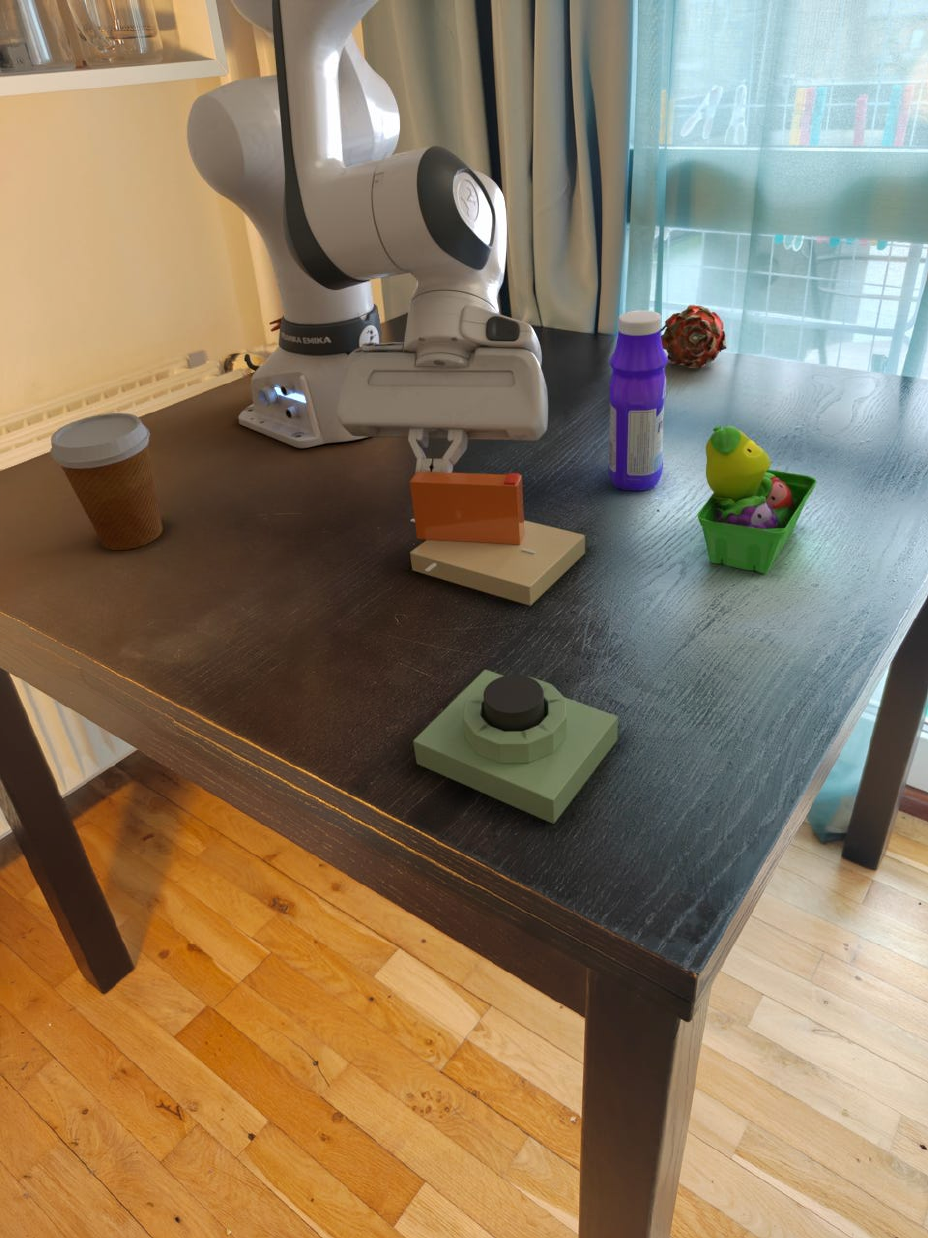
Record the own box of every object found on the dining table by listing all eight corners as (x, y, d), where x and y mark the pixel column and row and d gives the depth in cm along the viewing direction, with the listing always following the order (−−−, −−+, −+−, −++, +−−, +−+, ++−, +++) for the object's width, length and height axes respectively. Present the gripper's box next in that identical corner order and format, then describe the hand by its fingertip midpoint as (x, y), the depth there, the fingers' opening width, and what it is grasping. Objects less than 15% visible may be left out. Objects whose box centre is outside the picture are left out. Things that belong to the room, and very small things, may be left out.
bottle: (661, 495, 90) (670, 325, 81) (606, 494, 92) (607, 327, 82) (662, 465, 96) (670, 303, 86) (610, 464, 97) (612, 305, 87)
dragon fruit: (705, 390, 117) (667, 376, 128) (754, 344, 116) (711, 333, 126) (669, 343, 113) (634, 332, 124) (719, 295, 112) (679, 288, 123)
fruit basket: (776, 585, 75) (793, 464, 69) (677, 563, 79) (685, 447, 73) (811, 526, 83) (829, 412, 76) (719, 509, 87) (729, 400, 81)
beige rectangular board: (368, 572, 83) (365, 552, 82) (454, 508, 92) (452, 489, 91) (517, 618, 74) (516, 597, 73) (595, 543, 84) (595, 523, 82)
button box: (416, 764, 61) (409, 720, 59) (486, 691, 67) (483, 649, 64) (553, 824, 55) (552, 779, 53) (617, 739, 61) (618, 695, 59)
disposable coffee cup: (93, 568, 88) (51, 458, 81) (80, 530, 95) (41, 426, 88) (186, 540, 91) (154, 432, 84) (168, 506, 98) (136, 403, 91)
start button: (473, 720, 59) (471, 700, 58) (505, 687, 61) (504, 667, 60) (524, 740, 57) (523, 720, 56) (555, 705, 59) (554, 685, 58)
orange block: (416, 539, 83) (409, 479, 79) (423, 527, 85) (416, 468, 81) (520, 544, 80) (516, 483, 77) (524, 533, 82) (521, 472, 79)
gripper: (338, 327, 84) (317, 464, 82) (548, 325, 79) (533, 471, 77) (360, 357, 90) (342, 486, 88) (558, 357, 85) (543, 494, 83)
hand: (433, 479), depth 82 cm, fingers closed
